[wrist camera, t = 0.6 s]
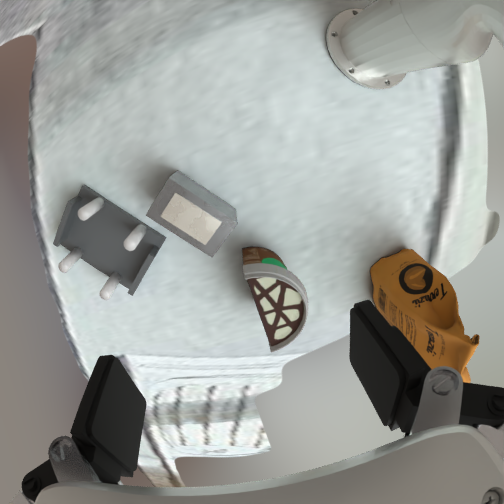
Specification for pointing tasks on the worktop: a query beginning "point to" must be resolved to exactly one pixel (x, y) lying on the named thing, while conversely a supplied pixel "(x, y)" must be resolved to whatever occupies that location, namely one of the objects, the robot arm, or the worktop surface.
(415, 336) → the coffee package
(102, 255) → the grey pegged block
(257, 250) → the food container
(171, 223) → the block
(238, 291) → the worktop surface
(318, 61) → the worktop surface
